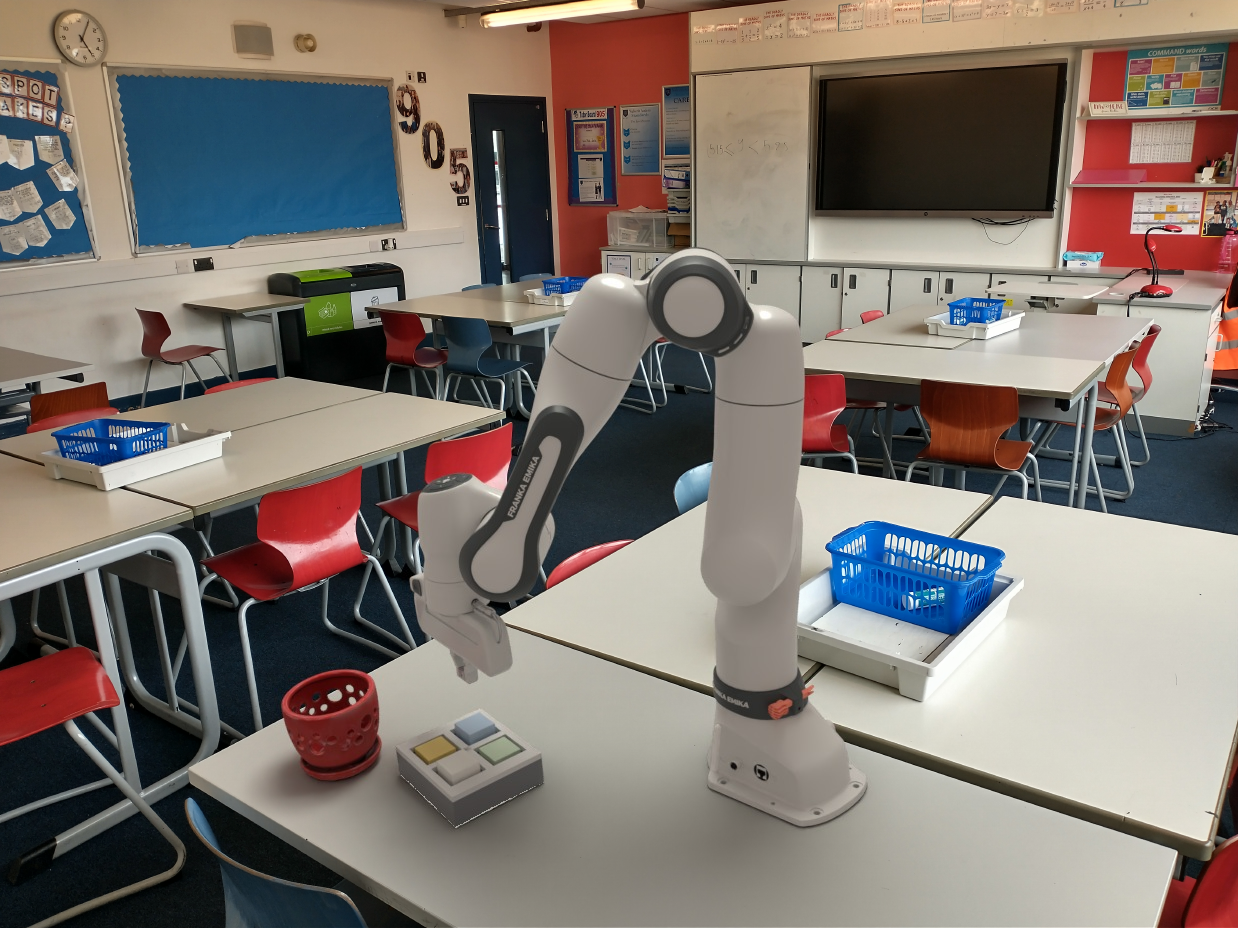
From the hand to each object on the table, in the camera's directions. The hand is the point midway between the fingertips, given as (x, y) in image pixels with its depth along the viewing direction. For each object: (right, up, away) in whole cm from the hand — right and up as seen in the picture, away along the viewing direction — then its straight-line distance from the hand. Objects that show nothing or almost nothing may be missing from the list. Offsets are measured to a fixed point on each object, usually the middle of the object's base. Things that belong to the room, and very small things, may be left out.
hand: (467, 679), depth 134 cm
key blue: (+1, -9, +3) cm, 10 cm away
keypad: (+1, -14, -1) cm, 14 cm away
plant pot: (-20, -14, +5) cm, 24 cm away
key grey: (0, -12, -6) cm, 13 cm away
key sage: (+5, -12, -2) cm, 13 cm away
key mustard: (-4, -12, -1) cm, 13 cm away
